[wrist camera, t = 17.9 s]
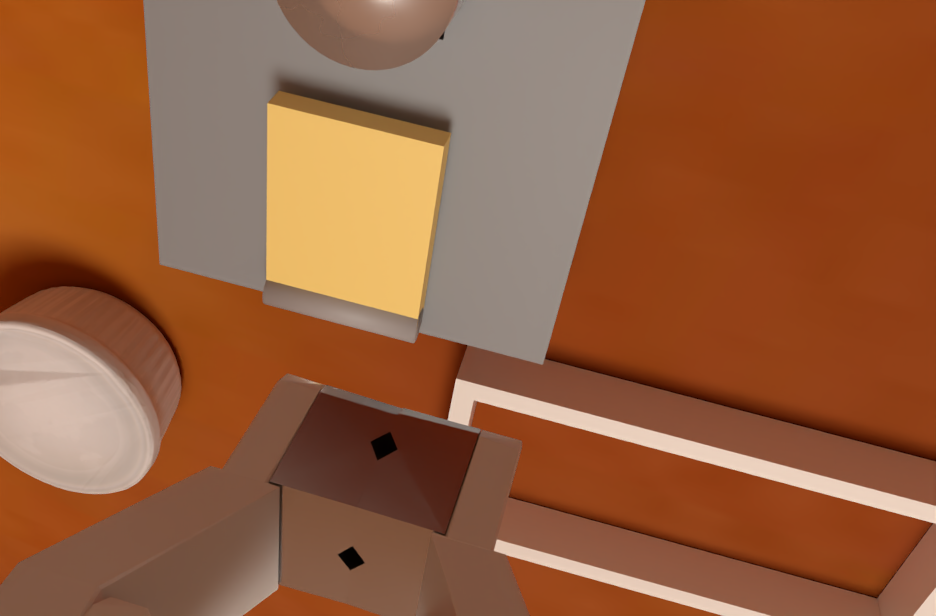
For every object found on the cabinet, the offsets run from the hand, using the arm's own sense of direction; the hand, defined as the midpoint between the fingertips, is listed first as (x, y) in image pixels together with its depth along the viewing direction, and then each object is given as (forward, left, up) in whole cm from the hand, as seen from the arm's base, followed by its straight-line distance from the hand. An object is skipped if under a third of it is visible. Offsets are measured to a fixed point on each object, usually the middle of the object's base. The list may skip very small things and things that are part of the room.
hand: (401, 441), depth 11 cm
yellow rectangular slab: (+6, +9, -19) cm, 22 cm away
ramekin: (+21, +26, -26) cm, 42 cm away
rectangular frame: (-11, +24, -25) cm, 37 cm away
